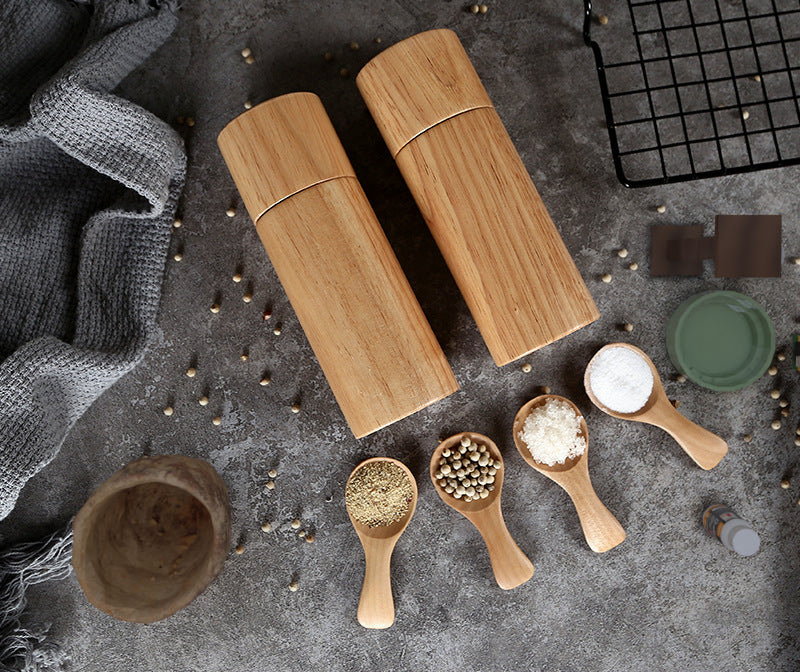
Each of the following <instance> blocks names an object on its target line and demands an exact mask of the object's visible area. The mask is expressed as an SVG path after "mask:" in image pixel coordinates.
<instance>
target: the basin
mask: <svg viewBox="0 0 800 672" xmlns="http://www.w3.org/2000/svg"><path fill="white" fill-rule="evenodd" d="M665 348H666V350H667V354H668V357H669V359H670V362H671V364H672V365H673V367H674V368H675V369H676V370H677V372H678V373H679V374H680V376H681V377H684V378H685V379H686V380H688V381H689V382H691V383H693V384H695V385H697V386H700V387H702V388H705V389H708V390H712V391H715V392H736V391H738V390H741V389H744V388H748V387H750V386H751V385H752V384H754V383H755V382H757V381H758V380H759V379H761V378H762V377H763V376H764V374H765V372H766V371H767V370H768V368H769V367H770V365H771V363H772V360H773V358H774V355H775V352H776V331H775V327H774V324H773V321H772V318H771V316H770V315H769V314H768V312H767V311H766V309H764V306H762V304H760V303H759V302H758V301H756V300H755V299H753V298H752V297H751V296H749V295H746V294H744V293H741V292H737V291H735V290H723V289H718V290H717V289H715V290H714V289H713V290H712V289H710V290H709V289H708V290H703V291H701V292H698V293H695V294H692V295H691V296H689V297H688V298H686V299H685V300H683V301H682V302H680V304H679V305H678V306H677V308H676V309H675V310H674V312H673V313H672V314H671V316H670V317H669V322H668V323H667V328H666V331H665Z"/></svg>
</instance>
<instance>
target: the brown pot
mask: <svg viewBox="0 0 800 672" xmlns="http://www.w3.org/2000/svg"><path fill="white" fill-rule="evenodd" d="M71 521H72V522H71V528H72V544H73V545H72V551H71V567H72V569H73V570H74V573H75V575H76V579H77V581H78V584H79V586H80V588H81V590H82V592H83V594H84V596H85V598H86V599H87V601H88V603H89V604H90V605H91V606H93V607H94V608H96V609H97V610H99V611H100V612H102V613H105V614H106V615H109V616H110V617H111V618H113V619H115V620H118V621H123V622H127V623H135V624H141V625H142V624H152V623H156V622H161V621H164V620H166V619H168V618H171V617H172V616H173V615H175V614H176V613H178V612H180V611H181V610H182V609H184V608H186V607H188V606H189V605H191V604H192V603H193V602H194V601H195V600H196V599H197V598H198V597H200V596H202V594H203V593H204V592H205V591H206V589H208V587H209V586H210V585H211V584H212V583H214V582H215V581H216V580H217V579H218V578H219V577H220V575H221V573H222V572H223V571H224V569H225V563H226V561H227V559H228V555H229V552H230V549H231V548H230V547H231V542H232V508H231V503H230V494H229V490H228V486H227V485H226V483H225V482H224V480H223V478H222V477H221V475H220V474H219V473H218V471H217V470H216V469H215V467H214V466H213V465H211V463H209V462H208V461H206V460H203V459H200V458H197V457H192V456H188V455H183V454H173V453H172V454H163V453H162V454H158V455H157V454H156V455H150V456H145V457H140V458H136V459H132V460H130V461H129V462H127V463H126V464H125V465H124V466H122V467H121V468H119V469H118V470H117V471H116V472H114V473H113V474H112V475H110V477H108V478H107V479H106V480H104V481H103V482H102V483H100V484H99V485H98V486H97V487H96V488H95V489H94V491H93V492H92V493H91V495H90V496H89V498H88V499H87V500H86V502H85V503H84V504H83V506H81V508H80V509H79V511H78V512H77V513H76V514H75V516H74V517H73V518H72V520H71Z"/></svg>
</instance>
